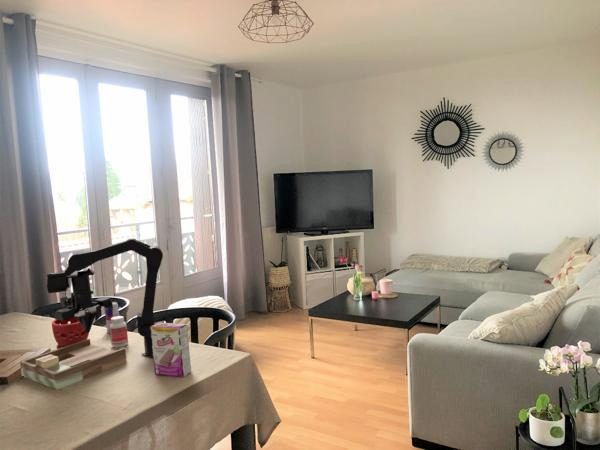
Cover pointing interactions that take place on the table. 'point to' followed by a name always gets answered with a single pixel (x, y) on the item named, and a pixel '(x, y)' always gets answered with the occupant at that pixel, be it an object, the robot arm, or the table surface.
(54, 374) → the box
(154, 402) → the table surface
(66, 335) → the plant pot
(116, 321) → the pill bottle
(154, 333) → the candy bar box
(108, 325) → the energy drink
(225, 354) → the table surface
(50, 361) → the maple block
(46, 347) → the table surface
